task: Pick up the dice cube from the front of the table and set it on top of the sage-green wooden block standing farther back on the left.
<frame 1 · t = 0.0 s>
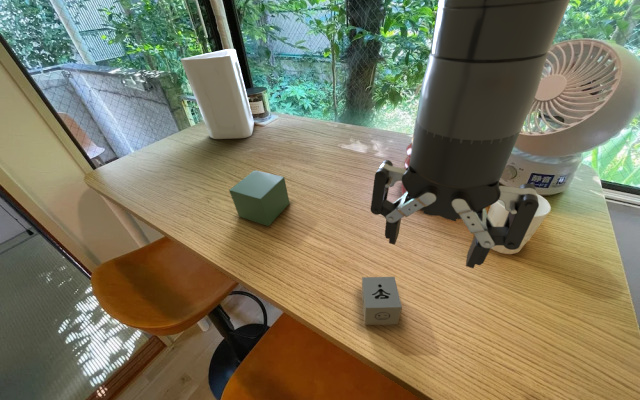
hand: (429, 249, 30), 15 cm above the table, tool pointing down, fingers open, 8 cm apart
kitchen canister: (427, 195, 62), on the table
dice cube: (378, 309, 41), on the table
green block: (264, 209, 63), on the table
white cup: (500, 241, 49), on the table
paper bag: (238, 132, 104), on the table
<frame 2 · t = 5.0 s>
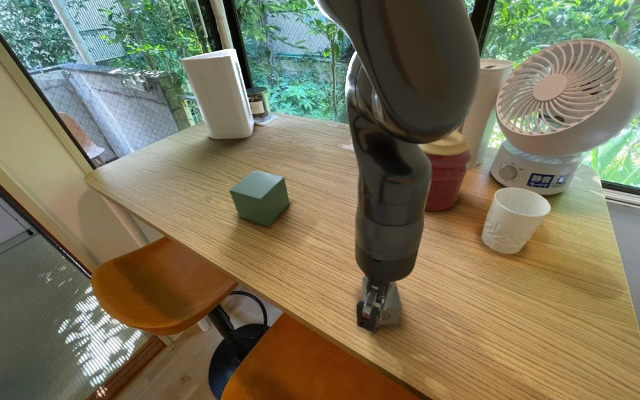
hand: (378, 306, 40), 1 cm above the table, tool pointing down, fingers closed on dice cube, 6 cm apart
dice cube: (378, 309, 41), on the table, touching gripper
everything else where it was.
when the fingers open (9 cm above the table, at t = 12.2 s): dice cube stays where it is, resting on green block.
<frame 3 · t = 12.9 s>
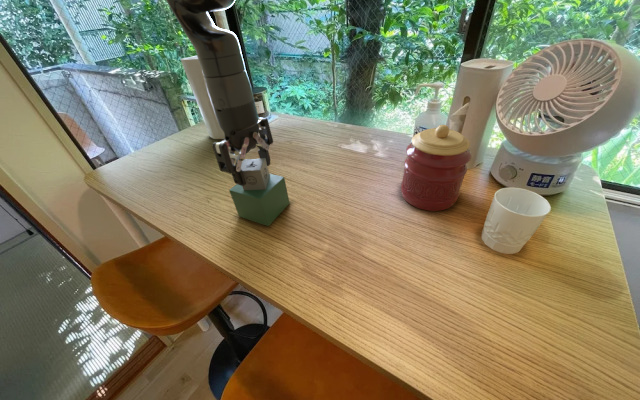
hand: (254, 174, 56), 10 cm above the table, tool pointing down, fingers open, 8 cm apart
dice cube: (257, 184, 58), point 8 cm above the table, touching green block
everything else where it was.
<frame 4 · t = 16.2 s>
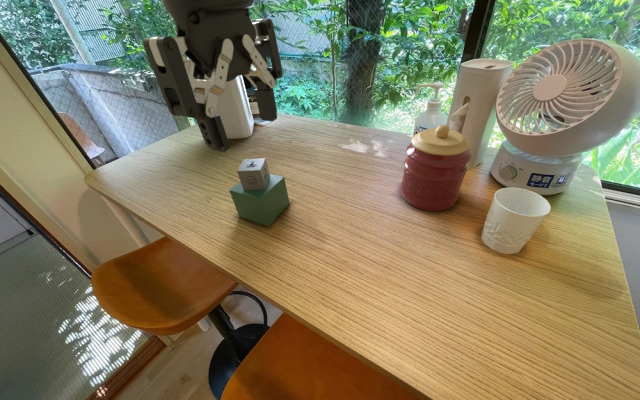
hand: (247, 133, 30), 28 cm above the table, tool pointing down, fingers open, 8 cm apart
nothing on the table moved.
at the end: dice cube 0.1 cm off-centre on the green block, point 7.8 cm above the green block's base; dice cube tilted 0°; the gripper is holding nothing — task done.
